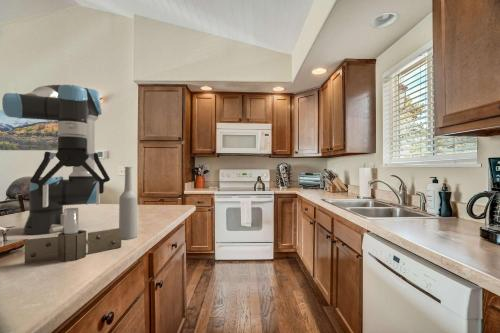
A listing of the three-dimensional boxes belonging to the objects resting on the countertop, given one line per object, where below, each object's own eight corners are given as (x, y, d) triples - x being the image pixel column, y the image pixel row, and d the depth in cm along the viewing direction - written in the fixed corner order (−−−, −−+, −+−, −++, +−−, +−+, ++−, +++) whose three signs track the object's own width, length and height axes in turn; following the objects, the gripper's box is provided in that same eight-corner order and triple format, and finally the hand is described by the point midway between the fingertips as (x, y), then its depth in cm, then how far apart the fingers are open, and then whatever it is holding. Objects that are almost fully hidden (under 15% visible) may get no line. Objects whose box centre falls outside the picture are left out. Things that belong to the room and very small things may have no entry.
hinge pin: (65, 256, 82) (65, 208, 82) (79, 254, 83) (79, 207, 83) (63, 260, 78) (63, 209, 79) (77, 258, 80) (77, 209, 80)
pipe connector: (62, 245, 93) (62, 217, 93) (39, 243, 95) (39, 216, 95) (85, 238, 103) (85, 212, 103) (64, 236, 105) (64, 211, 105)
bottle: (128, 234, 108) (128, 166, 109) (140, 236, 106) (141, 166, 106) (115, 238, 102) (115, 166, 102) (128, 240, 100) (128, 166, 100)
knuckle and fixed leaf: (28, 259, 79) (29, 234, 79) (87, 252, 86) (87, 229, 86) (20, 267, 73) (20, 240, 73) (84, 259, 79) (84, 234, 79)
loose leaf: (88, 253, 84) (88, 233, 84) (87, 253, 84) (87, 232, 84) (121, 247, 91) (121, 228, 91) (120, 246, 91) (120, 227, 91)
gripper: (16, 133, 72) (16, 209, 72) (117, 137, 83) (117, 204, 83) (25, 135, 79) (25, 206, 79) (118, 139, 90) (117, 201, 90)
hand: (72, 205), depth 81 cm, fingers open, 13 cm apart
